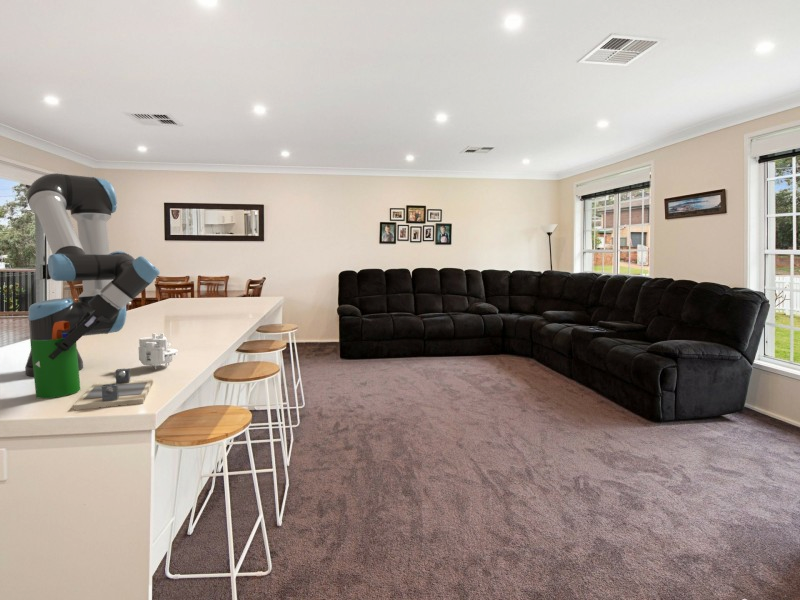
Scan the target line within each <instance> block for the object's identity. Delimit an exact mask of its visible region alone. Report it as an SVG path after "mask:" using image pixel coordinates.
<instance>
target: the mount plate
mask: <svg viewBox="0 0 800 600" xmlns="http://www.w3.org/2000/svg"><path fill="white" fill-rule="evenodd" d="M111 383H113V384H116V380H115V381H107V382H106V381H103V382H94V383H93V384H92V385H91V386H90V387H89V389H87V390H86V391H85V393H84V394H83V395H82V396H81V397H80V398H79V399H78V400H77V401H76V402H75V403H74V405H73V411H78V410H89V409H100V408H99V407H101V408H108V406H111V407H119V406H118V405H121V406H128V405H127V404H132V405H140V404H144V402H145V400H146V398H147V396H148V394H149V392H150V390H151V388H152V386H153V384H154V378H143V379H130V382H129V383H122V384H118V393H119V398H118V400H114V401H103V400H102V386H103V385H107V384H111ZM106 406H107V407H106Z"/></svg>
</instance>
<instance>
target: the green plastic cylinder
mask: <svg viewBox="0 0 800 600" xmlns="http://www.w3.org/2000/svg"><path fill="white" fill-rule="evenodd" d="M68 329H70V328H69V322H68V321H59V322H55V323H54V326H53V332H52V339H51V340H30V339H29V340H30V351H31V352H32V361H33V371H34V376H33V380H34V388H35V391H34V392H35V397H36V398H38V399H53V398H55V399H56V398H60V397H61V398H62V397H66V396H70V395H73V394H75V393H77V392H79V391H81V381H80V370H79V368H78V357H77V350H78V348H77V342H75V343H74V344H73V345H72V346H71V347H70V348H69V350H67V351H62V352H61V353H60V354H59V355H58V356H57V357H56V358H55V359H54V360H52V359H51V358H49V357H48V356H49V355H50V354H52V353H53V352H54V351H55V350H56V349H57V348H58V347H57V346H56V345H55V343H56V342H57V343H58V344H59V343H60V342H61V341H62V340H63V339H64V338H65V337H66V336H67V335H68V334H70V333H62V330H68ZM59 338H61V339H59ZM64 344H65V343H64ZM53 357H54V355H53ZM38 361H39V363H40V367H39V366H37V365H35V364H36V363H37V362H38Z"/></svg>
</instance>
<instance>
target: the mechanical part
mask: <svg viewBox="0 0 800 600" xmlns="http://www.w3.org/2000/svg"><path fill="white" fill-rule="evenodd" d="M138 343H139V346H138V361H140V363H141V364H142V365H144V366H150V368H151V367H152V368H154V370H157V366H162V365H163V364H165V366H164V367H165V369H168V365H170V364H171V363H172V362H173V357H175V356H178V352H179V350H178V349H176V348H169V347H172V343H171V342H168V337H166V336H165V332H161V333H160V334H157V333H156V332H154V333H152V336H147V337H146V336H145V337H140V338H139V339H138ZM153 366H154V367H153ZM170 366H171V365H170Z"/></svg>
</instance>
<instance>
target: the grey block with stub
mask: <svg viewBox="0 0 800 600" xmlns="http://www.w3.org/2000/svg"><path fill="white" fill-rule="evenodd" d="M130 380H131V369H130V368H119V369H118V368H117V369H116V370H115V381H116V384H122V383H129V382H130Z"/></svg>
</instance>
